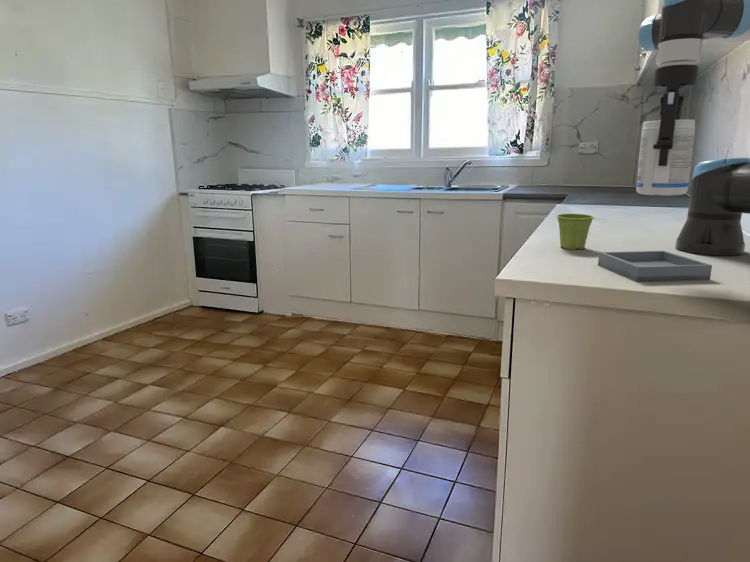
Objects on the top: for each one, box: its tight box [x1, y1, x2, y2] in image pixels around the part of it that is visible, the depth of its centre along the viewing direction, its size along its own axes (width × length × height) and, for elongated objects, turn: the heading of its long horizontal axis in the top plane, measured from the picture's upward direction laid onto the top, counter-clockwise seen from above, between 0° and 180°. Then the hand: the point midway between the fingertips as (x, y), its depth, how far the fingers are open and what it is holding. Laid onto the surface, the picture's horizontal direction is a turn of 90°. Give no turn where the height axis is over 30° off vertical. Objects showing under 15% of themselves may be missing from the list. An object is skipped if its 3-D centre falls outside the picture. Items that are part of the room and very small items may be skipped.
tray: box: [597, 250, 713, 283], centre depth 111 cm, size 16×16×3 cm
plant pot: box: [556, 213, 595, 250], centre depth 138 cm, size 9×9×9 cm
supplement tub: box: [635, 118, 696, 197], centre depth 106 cm, size 10×10×15 cm
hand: (661, 181), depth 107 cm, fingers closed on supplement tub, 9 cm apart
